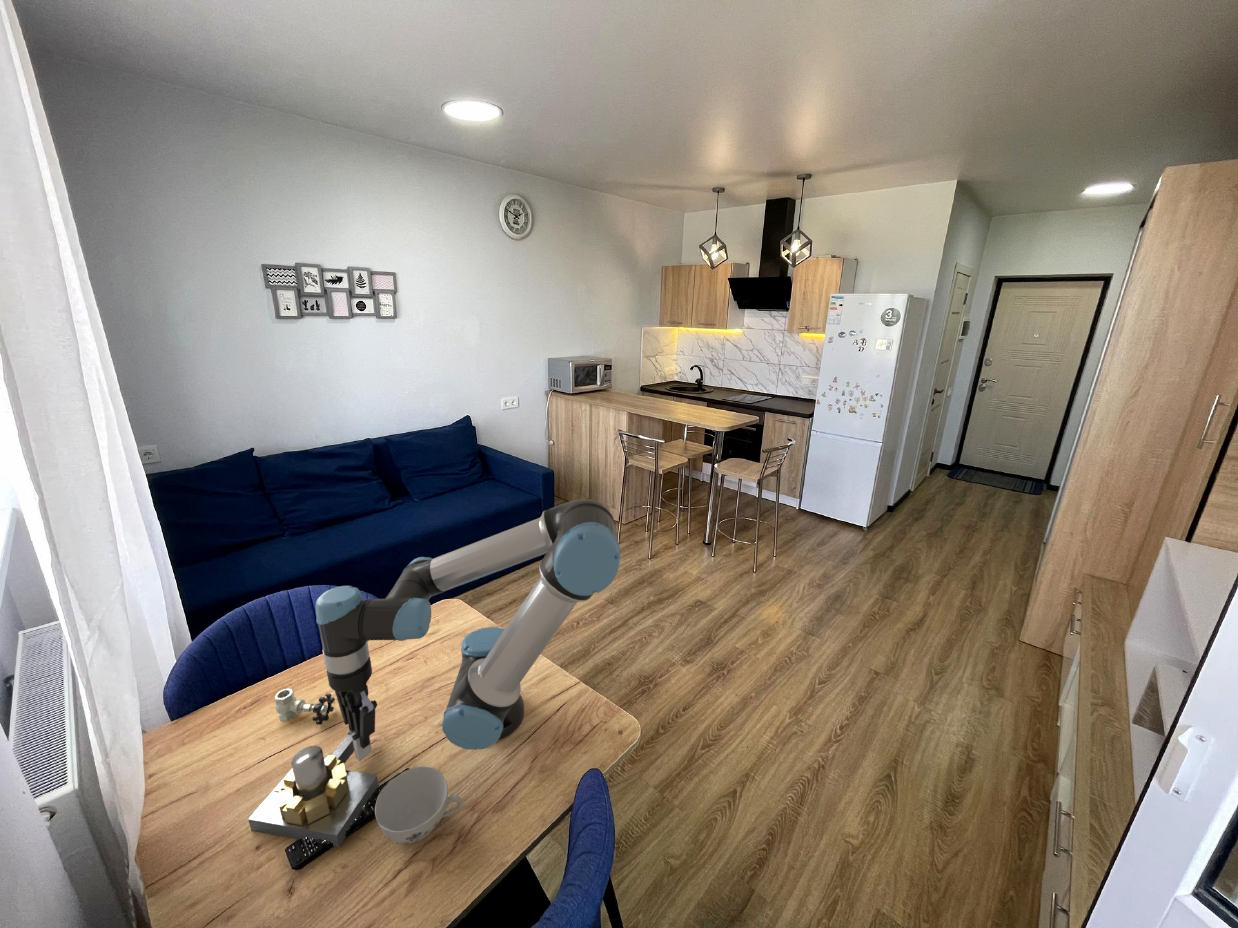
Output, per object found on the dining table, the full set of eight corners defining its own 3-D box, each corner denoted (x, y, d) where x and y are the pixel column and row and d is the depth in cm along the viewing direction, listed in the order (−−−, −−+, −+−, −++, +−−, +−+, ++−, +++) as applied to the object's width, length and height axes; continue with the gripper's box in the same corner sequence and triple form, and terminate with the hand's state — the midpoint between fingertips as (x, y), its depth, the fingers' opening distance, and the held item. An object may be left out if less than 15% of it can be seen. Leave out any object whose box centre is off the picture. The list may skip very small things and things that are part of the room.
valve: (270, 726, 113) (318, 731, 112) (264, 703, 111) (313, 708, 110) (290, 704, 119) (337, 709, 118) (286, 682, 117) (332, 687, 116)
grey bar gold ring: (388, 733, 108) (386, 719, 107) (320, 828, 88) (317, 812, 87) (343, 726, 110) (341, 712, 108) (266, 818, 90) (262, 802, 89)
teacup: (369, 866, 86) (363, 833, 83) (392, 798, 98) (387, 768, 95) (457, 856, 88) (453, 825, 85) (468, 791, 99) (466, 761, 97)
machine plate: (379, 786, 100) (371, 737, 96) (339, 846, 89) (328, 794, 85) (300, 772, 102) (289, 724, 98) (251, 830, 91) (236, 778, 87)
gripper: (385, 665, 94) (398, 758, 101) (350, 639, 101) (364, 727, 108) (346, 688, 88) (363, 785, 95) (311, 659, 95) (329, 751, 102)
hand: (364, 754), depth 102 cm, fingers closed
